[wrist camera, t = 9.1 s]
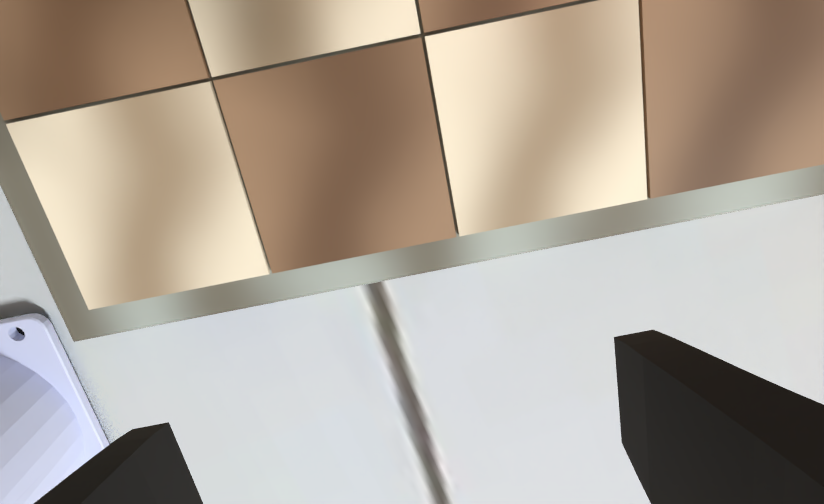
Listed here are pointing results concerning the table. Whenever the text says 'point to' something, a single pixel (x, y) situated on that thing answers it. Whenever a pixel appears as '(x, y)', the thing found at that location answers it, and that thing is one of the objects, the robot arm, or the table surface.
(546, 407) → the table surface
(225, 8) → the board
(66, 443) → the robot arm
